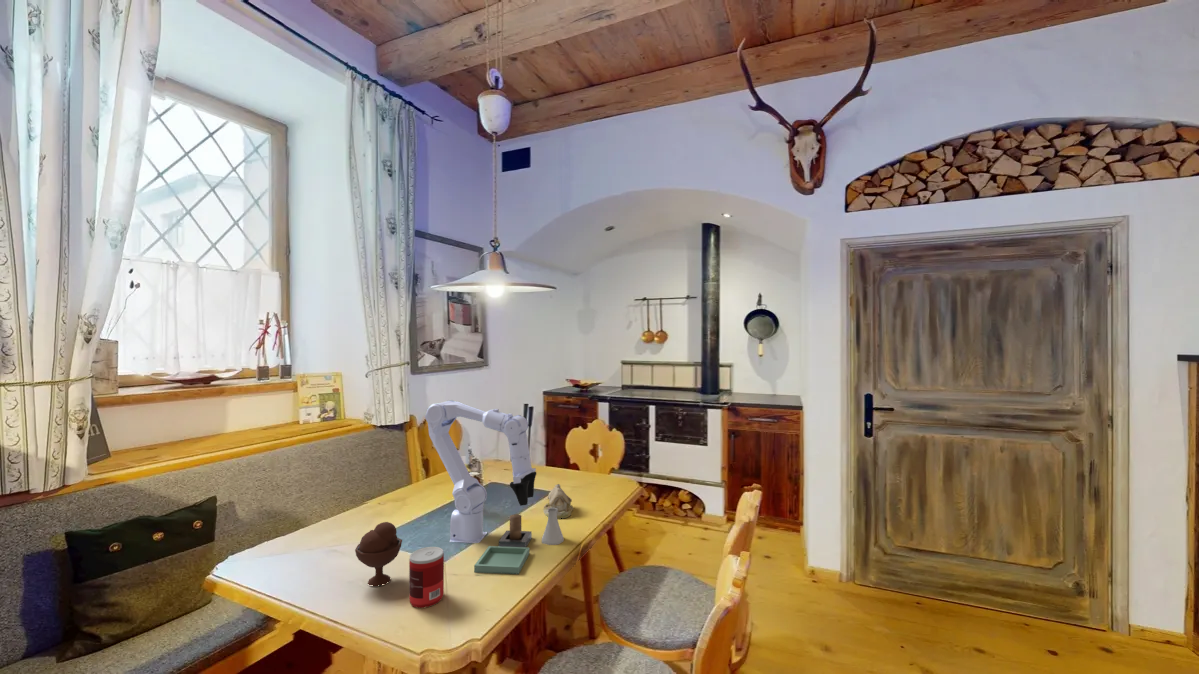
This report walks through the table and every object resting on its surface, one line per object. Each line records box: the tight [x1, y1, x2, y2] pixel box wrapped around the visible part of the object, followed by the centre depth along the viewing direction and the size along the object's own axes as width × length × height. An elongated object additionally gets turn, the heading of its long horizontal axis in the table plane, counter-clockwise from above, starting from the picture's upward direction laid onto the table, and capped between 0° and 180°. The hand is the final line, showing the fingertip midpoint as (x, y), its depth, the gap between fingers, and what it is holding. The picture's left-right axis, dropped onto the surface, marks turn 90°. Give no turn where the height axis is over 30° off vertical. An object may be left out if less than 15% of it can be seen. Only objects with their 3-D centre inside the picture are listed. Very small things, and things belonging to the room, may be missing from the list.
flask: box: [541, 508, 565, 546], centre depth 147 cm, size 7×7×10 cm
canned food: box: [408, 546, 445, 609], centre depth 114 cm, size 8×8×11 cm
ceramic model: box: [542, 483, 574, 520], centre depth 172 cm, size 14×11×10 cm
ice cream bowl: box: [354, 521, 403, 586], centre depth 123 cm, size 11×11×15 cm
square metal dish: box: [498, 530, 533, 548], centre depth 145 cm, size 8×8×2 cm
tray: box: [473, 545, 530, 575], centre depth 132 cm, size 12×12×2 cm
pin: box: [509, 513, 522, 540], centre depth 145 cm, size 4×4×8 cm
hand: (526, 500), depth 145 cm, fingers open, 7 cm apart
